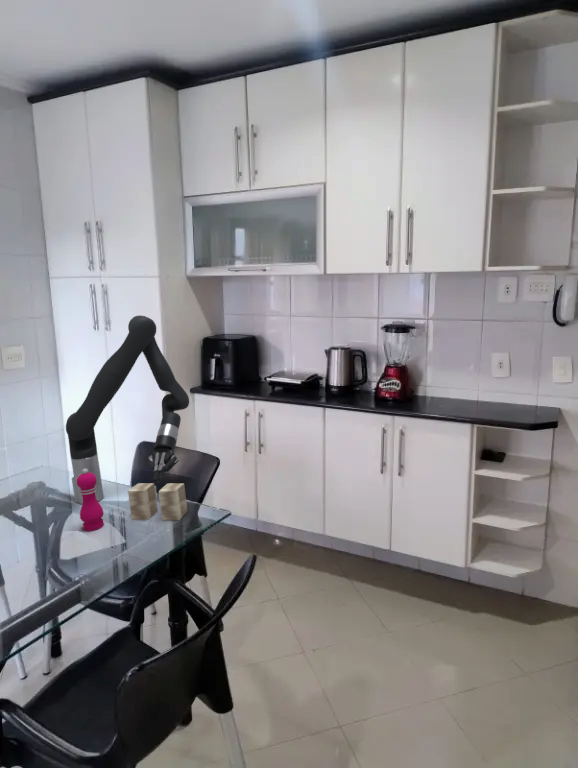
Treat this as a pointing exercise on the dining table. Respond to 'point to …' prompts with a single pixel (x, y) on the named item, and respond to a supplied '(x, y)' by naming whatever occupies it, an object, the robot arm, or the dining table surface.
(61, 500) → the dining table surface
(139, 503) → the post left
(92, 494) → the pepper mill
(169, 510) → the post right
